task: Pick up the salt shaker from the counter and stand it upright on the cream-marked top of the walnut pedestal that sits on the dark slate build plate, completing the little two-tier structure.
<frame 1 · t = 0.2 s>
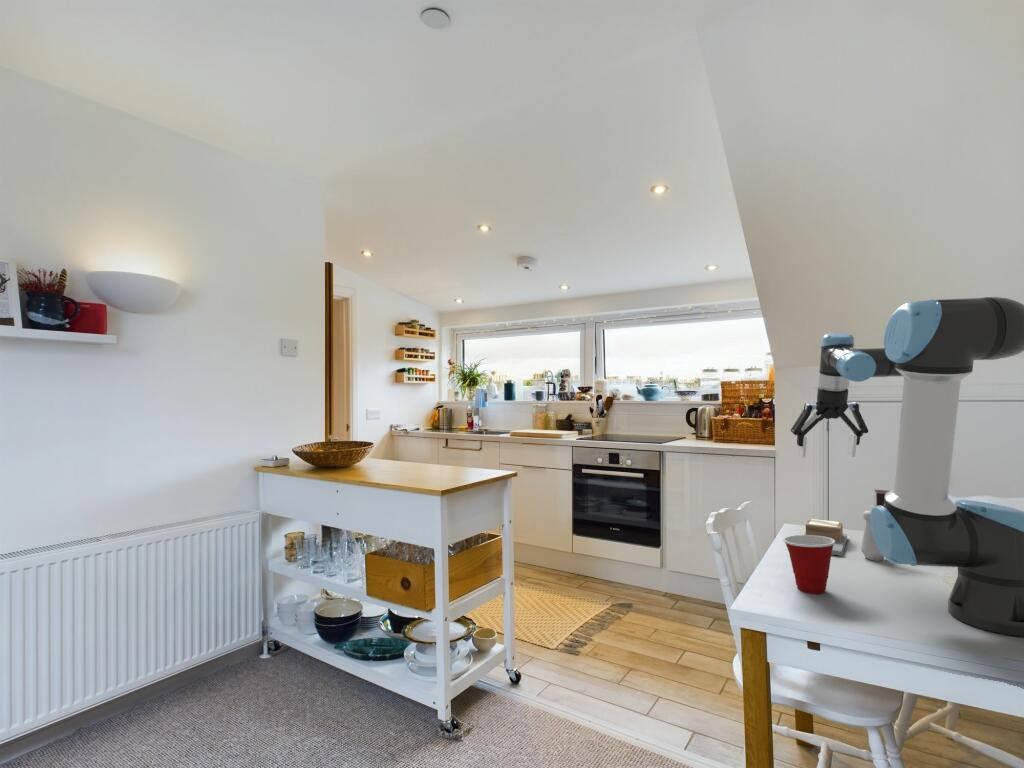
hand: (826, 455, 155), 28 cm above the table, tool tilted 20°, fingers open, 13 cm apart
build plate: (823, 544, 158), on the table
plastic cup: (810, 590, 122), on the table
salt shaker: (873, 559, 144), on the table
coffee box: (894, 546, 155), on the table
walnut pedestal: (824, 541, 161), resting on build plate
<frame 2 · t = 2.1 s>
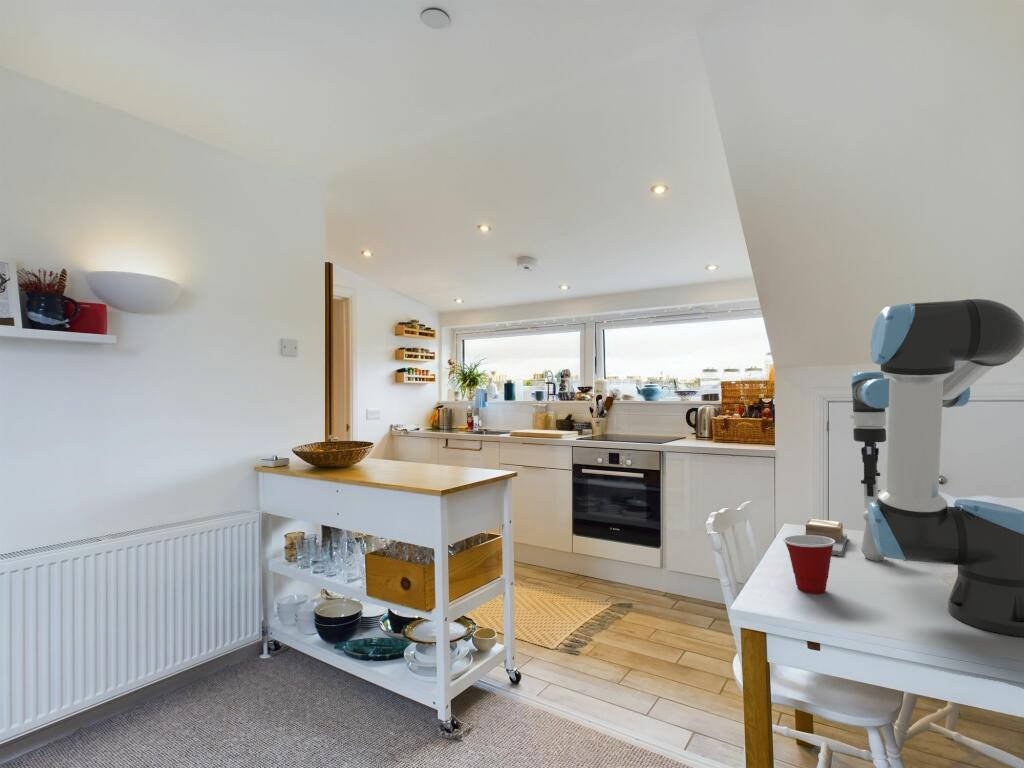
hand: (871, 503, 145), 15 cm above the table, tool pointing down, fingers open, 13 cm apart
nothing on the table moved.
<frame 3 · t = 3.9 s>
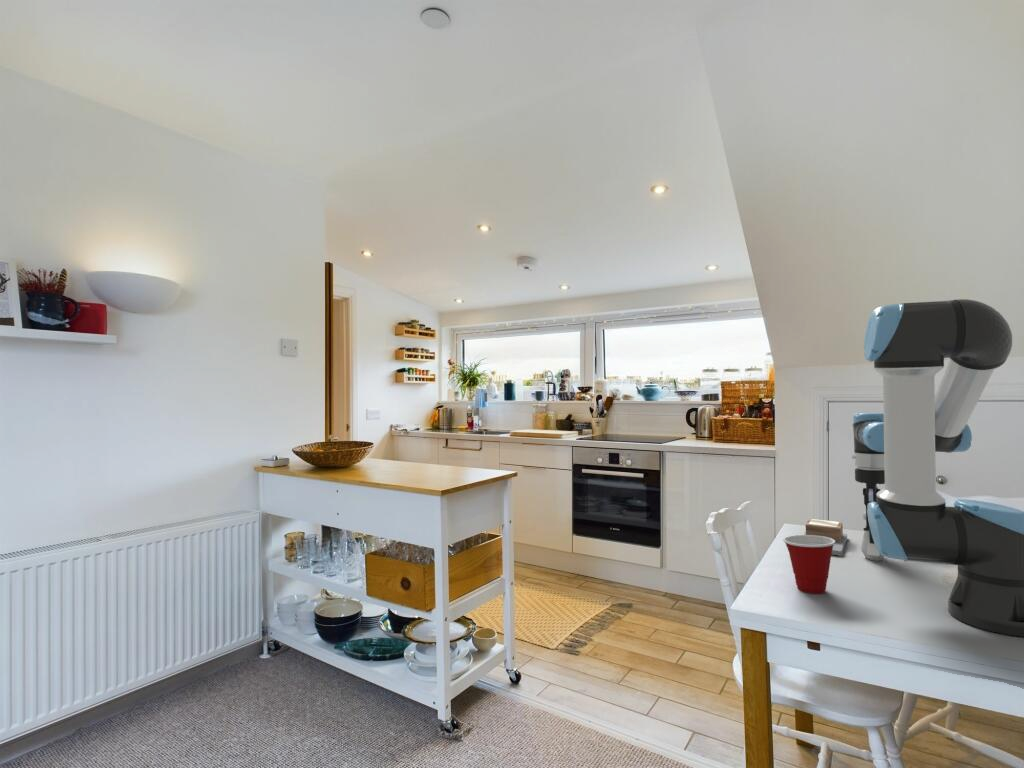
hand: (873, 551, 144), 2 cm above the table, tool pointing down, fingers closed on salt shaker, 6 cm apart
salt shaker: (874, 559, 144), on the table, touching gripper
everything else where it was.
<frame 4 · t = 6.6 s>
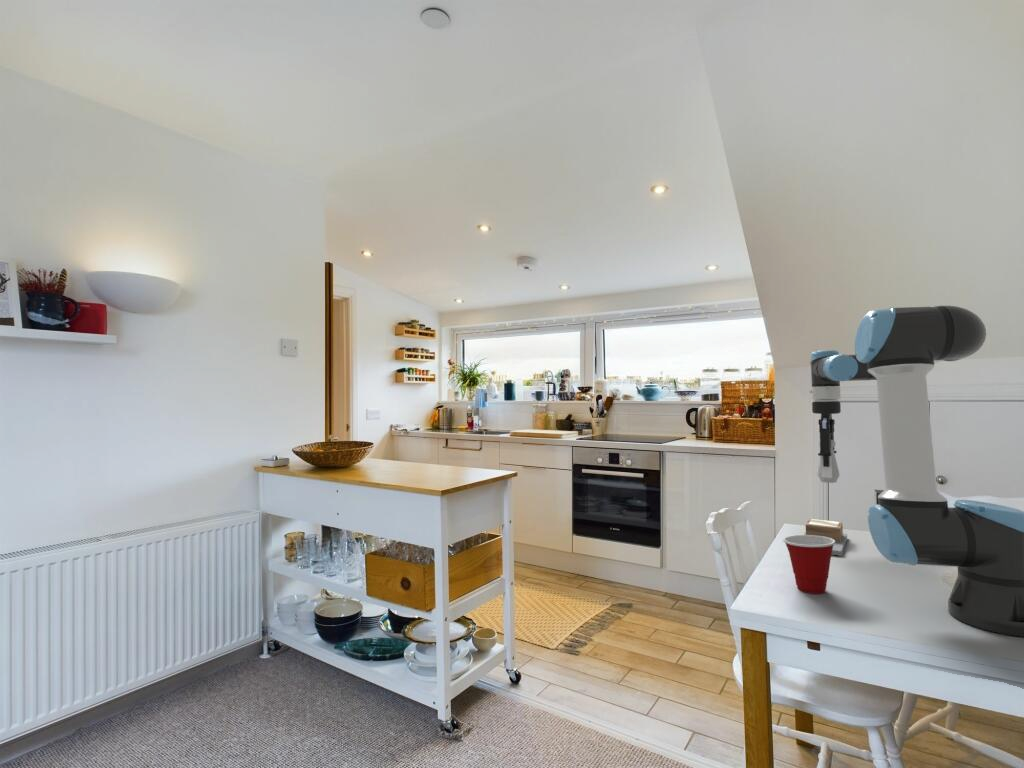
hand: (828, 475, 160), 21 cm above the table, tool pointing down, fingers closed on salt shaker, 6 cm apart
salt shaker: (828, 482, 160), point 19 cm above the table, touching gripper
everything else where it was.
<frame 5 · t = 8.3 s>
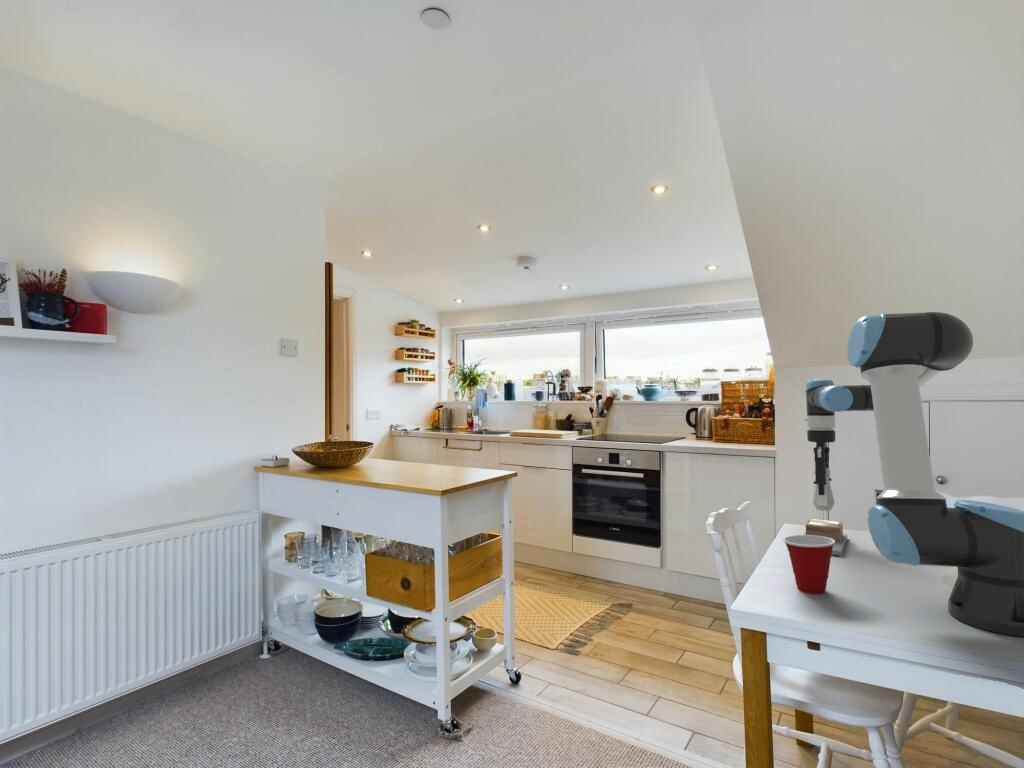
hand: (823, 503, 162), 12 cm above the table, tool pointing down, fingers closed on salt shaker, 6 cm apart
salt shaker: (823, 509, 162), point 10 cm above the table, touching gripper
everything else where it was.
when the fingers open (9 cm above the table, at t = 9.6 s): salt shaker drops 1 cm, resting on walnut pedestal.
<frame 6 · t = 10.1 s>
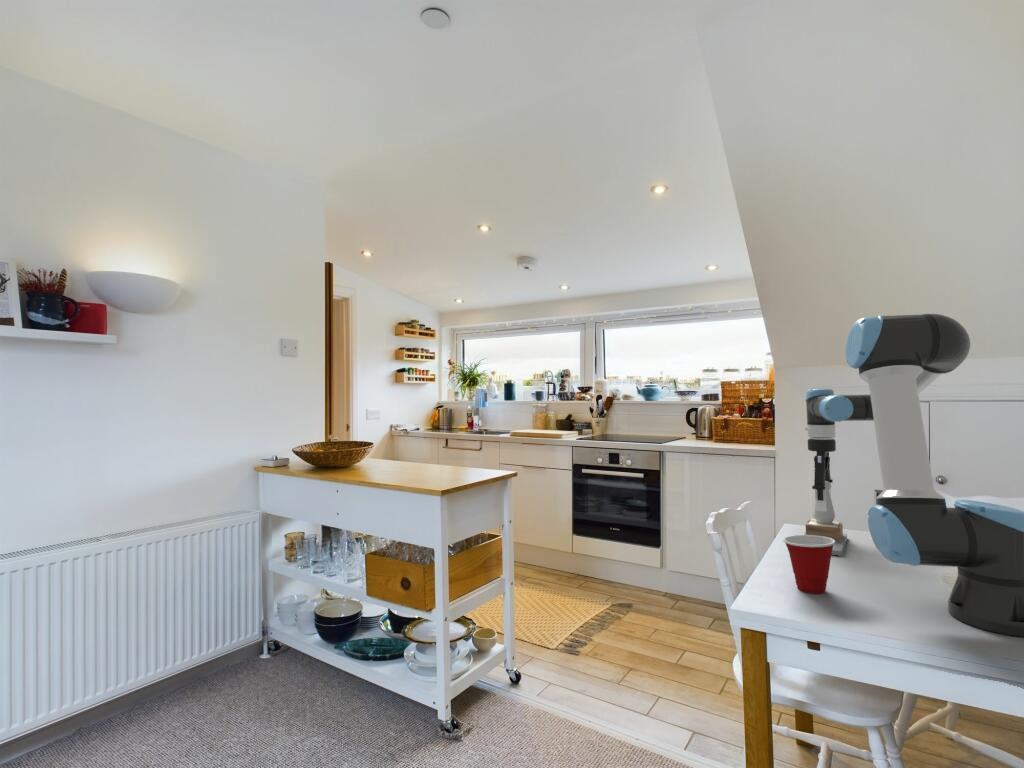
hand: (823, 507, 162), 11 cm above the table, tool pointing down, fingers open, 13 cm apart
salt shaker: (824, 523, 161), point 6 cm above the table, touching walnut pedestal
everything else where it was.
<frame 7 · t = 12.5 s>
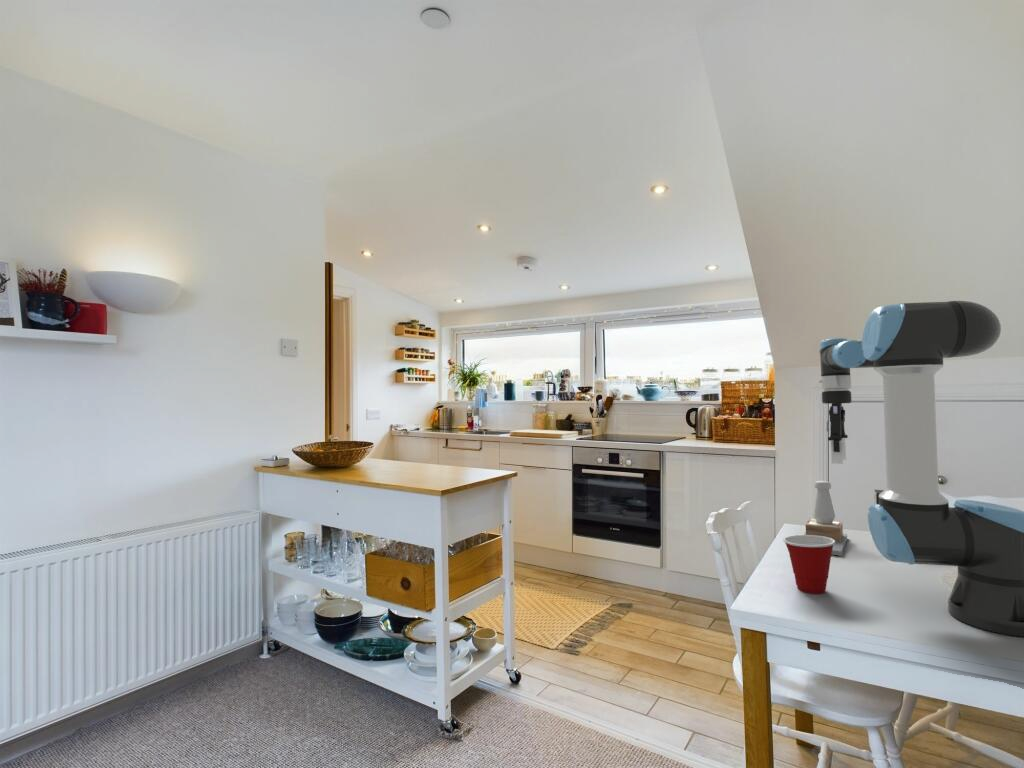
hand: (839, 461, 155), 26 cm above the table, tool pointing down, fingers open, 13 cm apart
nothing on the table moved.
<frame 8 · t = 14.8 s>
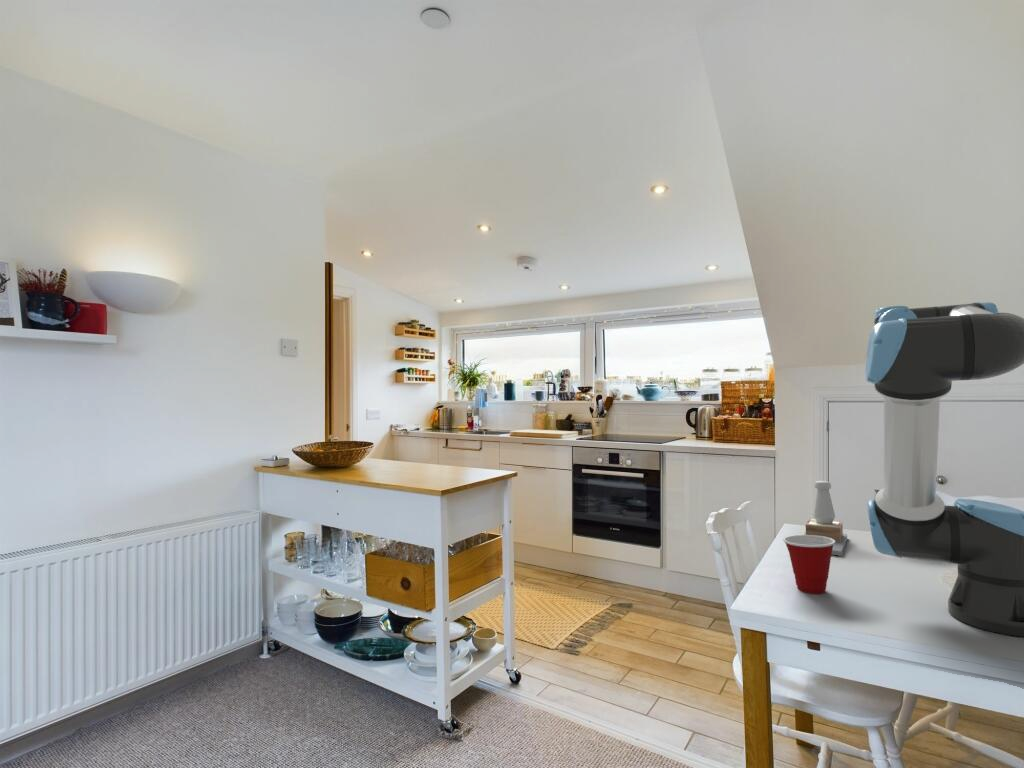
hand: (896, 447, 136), 32 cm above the table, tool pointing down, fingers open, 13 cm apart
nothing on the table moved.
at the end: salt shaker 0.1 cm from the target spot, point 5.5 cm above the table; salt shaker tilted 0°; the gripper is holding nothing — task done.
